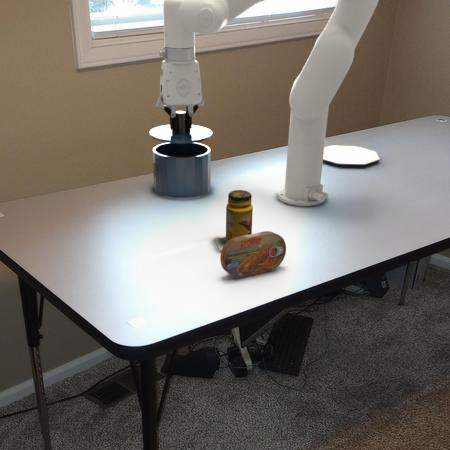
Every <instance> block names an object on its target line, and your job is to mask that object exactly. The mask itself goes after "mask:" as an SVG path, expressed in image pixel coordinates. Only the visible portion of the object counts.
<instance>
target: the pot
mask: <svg viewBox="0 0 450 450" xmlns="http://www.w3.org/2000/svg"><path fill="white" fill-rule="evenodd" d="M211 153H212V150H211V148H210V147H209V145H206V144H204V143H201V142H196V143H185V144H178V143H168V142H162V143H160V144H156V145H155V146H154V147H153V148H152V164H153V165H152V167H153V169H152V170H153V188H154V189H153V190H154V191H155V192H156V193H157V194H159V195H161V196H165V197H169V198H175V199H184V198H185V199H187V198H196V197H201V196H205V195H207V194H208V193H210V192H211V187H212V186H211V185H212V184H211V183H212V182H211V177H212V176H211V175H212V174H211V172H212V169H211V167H212V165H211V163H212V161H211V157H212V156H211Z"/></svg>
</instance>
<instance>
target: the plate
mask: <svg viewBox="0 0 450 450" xmlns="http://www.w3.org/2000/svg"><path fill="white" fill-rule="evenodd" d="M380 160H381V158H380V155H378V153H377V151H376V150H372V149H369V148H365V147H361V146H357V145H327V146H324V154H323V162H327V163H331V164H335V165H338V166H367V165H370V164H373V163H376V162H379V161H380Z"/></svg>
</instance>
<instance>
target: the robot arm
mask: <svg viewBox="0 0 450 450" xmlns="http://www.w3.org/2000/svg"><path fill="white" fill-rule="evenodd" d="M264 1H265V0H163V5H162V6H163V9H162V13H163V42H164V46H163V48H162V49H159V50H158V55H159V57H163V60H162V62H161V69H160V79H159V95H158V98H157V101H156V103H155V106H156V107H157V108H158V109H160V110H162V111H164V112H165V113H166V114H167V115H168V117H169V125H170V129H171V130H172V132H173V133H174V134H177V133H178V119H177V118H176V111H177V107H179V106H184V107H185V112H186V132H187V133H190V129H191V128H192V125H193V117H194V114H195V113H196V112H197V110H198V109H200V108H202V107H203V106H204V105H205V104H206V102H205V99H204V97H203V95H202V90H203V89H202V78H201V71H200V64H199V61H198V60H197V59H196V36H195V35H196V33H197V34H201V35H205V36H210V35H211V36H212V35H214V34H216V33H218V32H219V31H221V29H222V28H224V27H225V26H227V25H228V24H229V23H231V22H232V21H234V20H235V19H236V18H237V17H239V16H241V14H243V13H244V12H246V11H247V10H249V9H250V8H252V7H253V6H254V5H256V4H258V3H261V2H264ZM379 1H380V0H338V1H337V3H336V5H335V8H334V9H333V12H332V13H331V15H330V17H329V19H328V21H327V23H326V25H325V26H324V28H323V30H322V31H321V33H320V34H319V36H318V37H317V38H316V41H315V43H314V45H313V48H312V50H311V52H310V54H309V56H308V58H307V60H306V62H305V64H304V65H303V67H302V69H301V71H300V73H299V75H298V76H297V77H296V78H295V80H294V81H293V84H292V87H291V88H290V89H291V90H290V93H289V96H288V97H289V98H288V101H289V102H288V103H289V108H290V113H289V114H290V115H289V126H288V139H287V150H286V151H287V152H286V167H285V181H284V188H283V189H281V190H280V191H279V192H278V199H279V200H280V201H281V202H282V203H284V204H288V205H292V206H298V207H313V206H317V205H320V204H323V203H324V202H325V200H326V199H327V198H328V197H329V193H328V192H326V191H323V190H324V184H323V183H321V182H322V171H323V165H324V163H323V162H324V160H323V154H324V147H325V144H326V138H327V137H326V136H327V127H328V117H329V111H330V109H329V108H330V104H331V102H332V101H333V100H334V97H335V96H336V94H337V93H338V90H339V88H340V87H341V85H342V83H343V81H344V79H345V78H346V77H347V74H348V72H349V70H350V68H351V66H352V64H353V62H354V58H355V50H356V48H357V45H358V43H359V42H360V40H361V38H362V36H363V34H364V33H365V31H366V29H367V26H368V24H369V23H370V20H371V18H372V17H373V15H374V13H375V11H376V8H377V6H378V4H379Z"/></svg>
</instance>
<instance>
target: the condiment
mask: <svg viewBox="0 0 450 450" xmlns="http://www.w3.org/2000/svg"><path fill="white" fill-rule="evenodd" d="M252 197H253V196H252V193H251V192H250V191H247V190H243V189H235V190H232V191H230V192H229V193H228V194H227V204H226V207H225V209H226V211H225V236H224V237H213V240H214V242H215V244H216V246H217V248H218V250H219V251H220V252H221V251H222V249H223V247H224V245H225V244H226V243H227V242H228V241H229V240H231V239H233V238H235V237H240V236H245V235H250V234H253V212H254V210H253V204H252V203H253V202H252Z"/></svg>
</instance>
